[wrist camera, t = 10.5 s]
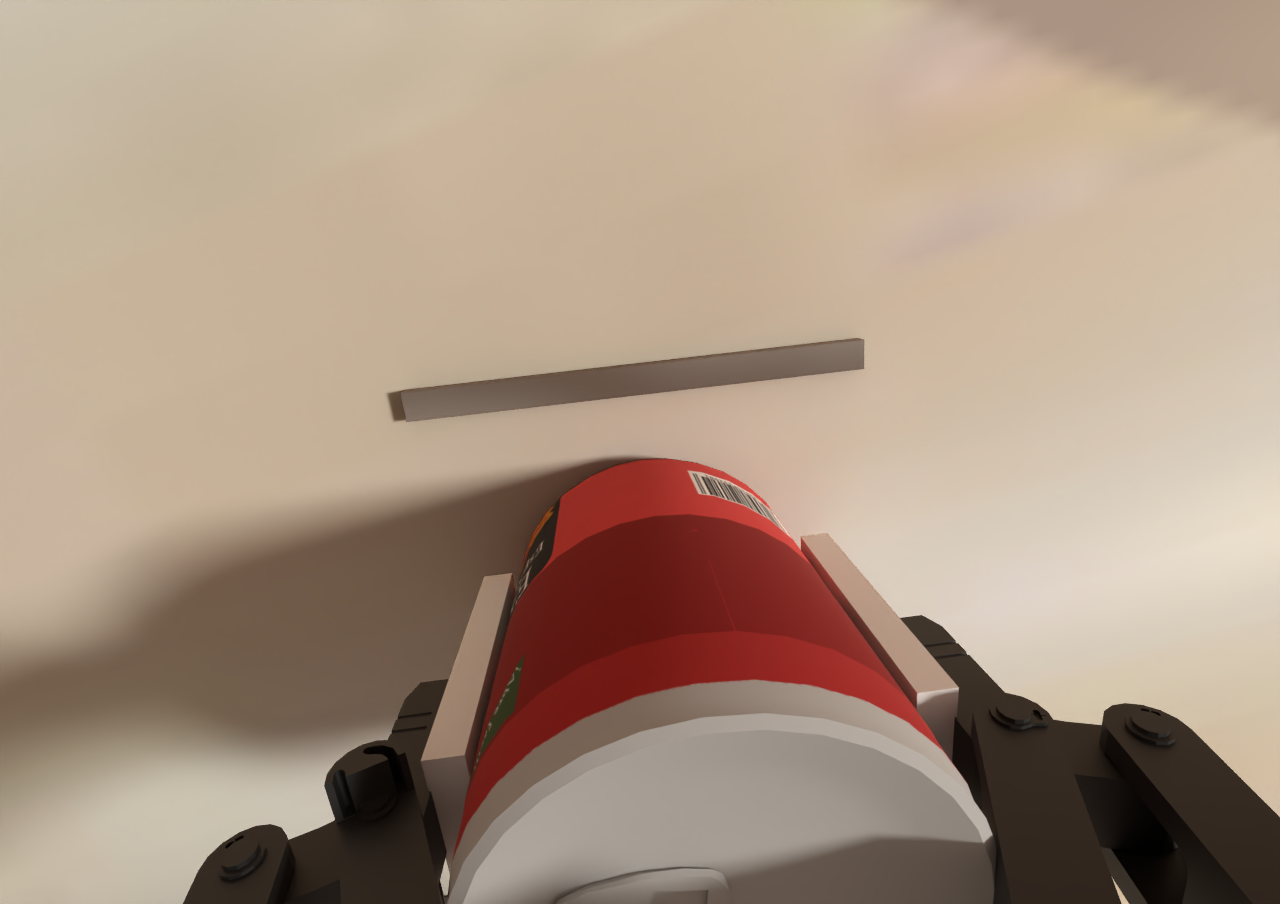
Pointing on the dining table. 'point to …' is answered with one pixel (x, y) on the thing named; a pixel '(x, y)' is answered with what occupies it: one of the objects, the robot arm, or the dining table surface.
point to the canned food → (701, 722)
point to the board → (632, 379)
